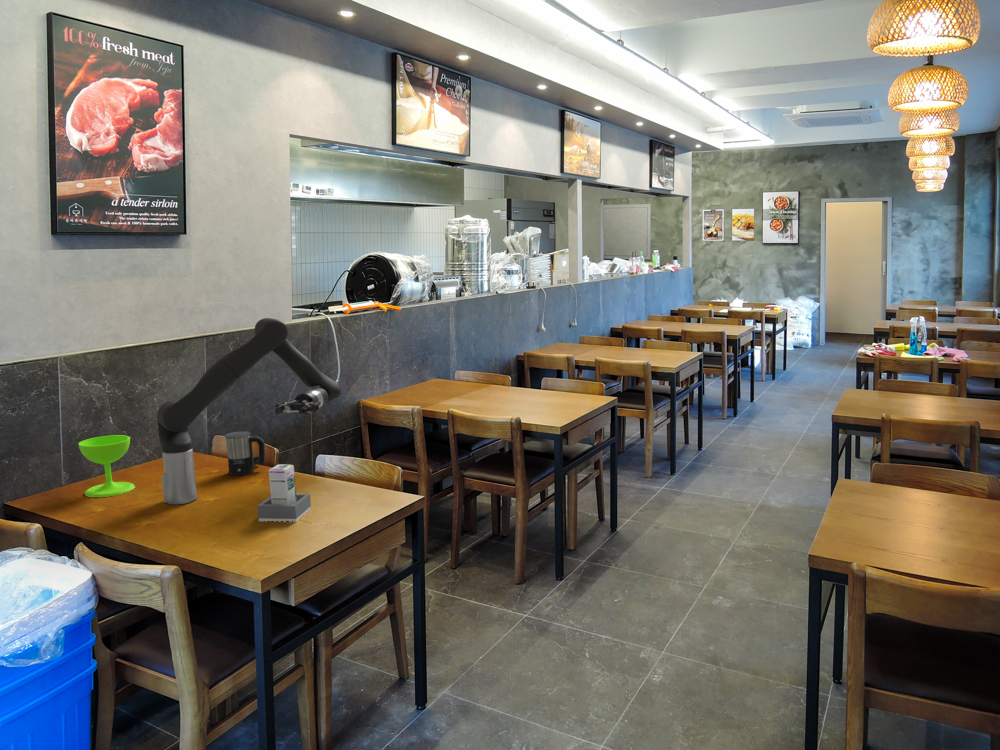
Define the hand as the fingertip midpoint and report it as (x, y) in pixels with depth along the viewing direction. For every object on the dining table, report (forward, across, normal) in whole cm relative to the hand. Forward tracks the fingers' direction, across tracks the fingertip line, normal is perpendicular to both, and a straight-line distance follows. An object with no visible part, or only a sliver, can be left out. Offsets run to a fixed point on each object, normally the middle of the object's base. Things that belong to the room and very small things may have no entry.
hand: (289, 411), depth 248 cm
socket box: (+17, +4, +29) cm, 34 cm away
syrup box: (+17, +4, +28) cm, 33 cm away
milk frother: (-31, -33, +30) cm, 54 cm away
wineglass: (-2, -69, +30) cm, 75 cm away
